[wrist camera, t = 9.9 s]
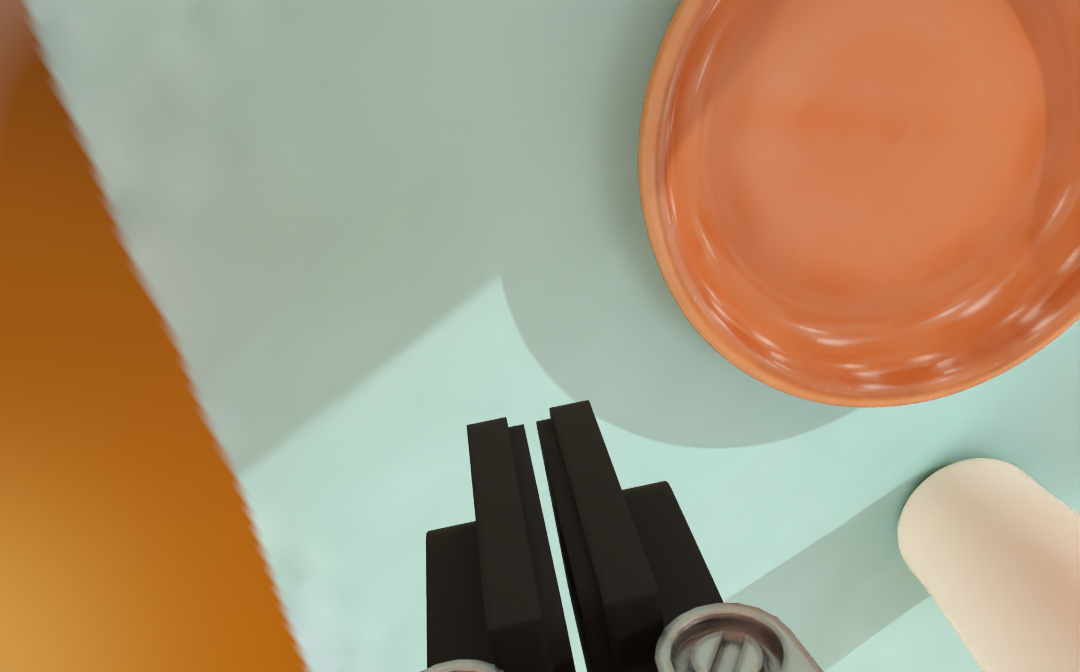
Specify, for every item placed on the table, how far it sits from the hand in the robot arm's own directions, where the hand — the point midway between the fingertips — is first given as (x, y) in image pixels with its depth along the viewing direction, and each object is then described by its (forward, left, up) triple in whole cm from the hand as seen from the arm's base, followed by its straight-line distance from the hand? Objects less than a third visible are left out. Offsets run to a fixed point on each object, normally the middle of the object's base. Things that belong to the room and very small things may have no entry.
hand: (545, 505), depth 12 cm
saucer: (0, +13, -16) cm, 20 cm away
